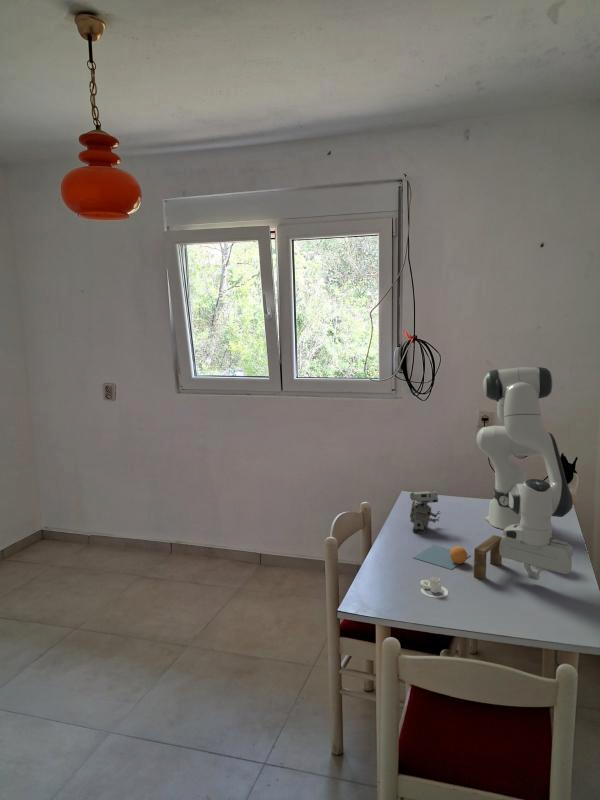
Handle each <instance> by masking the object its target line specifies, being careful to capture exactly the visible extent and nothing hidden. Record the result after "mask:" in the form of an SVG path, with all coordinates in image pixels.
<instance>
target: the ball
mask: <svg viewBox="0 0 600 800" xmlns="http://www.w3.org/2000/svg"><path fill="white" fill-rule="evenodd" d="M450 550H451V551H450V558H451V560H452V561H453V562H455V563H457V564H459V565H461V564H463V563H465V562H466V561H467V559H468V558H467V554H468V552H467V551H466V549H465V548H463V547H462V546H457V545H456V546H454V547H453V548H451V549H450Z"/></svg>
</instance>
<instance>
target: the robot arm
mask: <svg viewBox="0 0 600 800" xmlns="http://www.w3.org/2000/svg"><path fill="white" fill-rule="evenodd" d="M551 373H552V372H551V371H550V370H549V369H548V368H546V367H540V366H537V367H531V366H530V367H527V366H526V367H525V366H524V367H521V366H520V367H512V368H503V369H492V370H489V371H487V372H486V374H485V376H484V377H483V382H482V388H483V391H484V393H485V396H486V398H488V399H489V400H492V401H496V402H497V403H496V405H497V409H496V410H497V411H496V413H497V415H496V416H497V418H498V419H499V421H500V422H501V424H503V425H490V426H488V425H487V426H483V427H482V428H480V429H479V430H478V432H477V435H476V444H477V447H478V448H479V450H480V451H481V452H482V453H484V454H485V455H486V456H487V458H489V460H490V461H491V463H492V465H493V469H494V479H495V480H494V481H495V482H494V483H495V485H494V488H493V499H491V500H490V502H489V509H488V510H489V511H488V515H486V516H485V519H486V520H485V519H484V520H485V521H487V522H489V524H490V525H491V526H493V527H494V528H496V529H499V530H503V531H502V535H503V536H501V537H502V539H501V541H500V547H499V554H500V555H501V557H502V559H503V558H505V559H508V560H512V561H515V562H518V563H523V565H524V570H526V572H527V578H528V579H532V580H535V581H539V580H540V578H541V577H540V576H541V575H540V574H541V573H542V572H543V571H544V570H546V569H548V570H547V571H550V570H552V571H553V572H556V573H559V574H563V575H566V574H568V573H570V572H571V570H572V568H573V567H572V566H573V565H572V564H573V562H572V556H573V551H574V549H573V546H572V545H571V544H570V543H568V541H565V540H559V539H556V538H553V537H552V535H553V524H552V517H555V518H556V517H557V518H562V517H564V516H566V515H567V514H568V513H569V512H570V511H571V510H572V508H573V504H574V503H573V502H574V501H573V497H572V493H571V489H570V487H569V485H568V483H567V479H566V475H565V470H564V466H563V464H562V460H561V455H560V452H559V447H558V444H557V442H556V439H555V437H554V435H553V434H552V433H551V432H548V430H547V429H546V428H545V425H544V423H543V421H542V413H541V411H542V410H541V404H540V399H543V398H548V397H549V396H550V394H552V390H553V387H554V378H553V375H552V374H551ZM510 456H524V457H534V456H542V458H543V460H544V464H545V465H544V466H545V468H546V473H547V477H548V480H549V482H547V481H545V480H543V479H541V478H540V479H539V478H529V479H528V478H527V472H526V470H525V468H524V467H523V466H521V465H520V464H518V463H516V462H514V461H512V459H511V458H510ZM531 566H534V567H536V570H537V571H533V570H532V567H531Z"/></svg>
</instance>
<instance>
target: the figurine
mask: <svg viewBox="0 0 600 800" xmlns="http://www.w3.org/2000/svg"><path fill="white" fill-rule="evenodd" d="M409 496H410V497H409V498H410V500H411V501H412V503H411V504H412V505H411V508H410V509H411V510H410V514H409V515H410V516H409V518H410V519H409V520H410V522H411V523H412V524H413V528H412V532H413V533H417V532H418V533H420V534H424V533H425V527H428V526H429V522H432V523H434V524H435V523H436V522H440V520H439V519H440V517H438V518H437V516H438V515H440V513H441V511H440V510H438V511H437V513H433V512H432V506H431V505H428V504H431V503H438V502H439V498H438V496H439V495H438V494H437V491H436V490H427V491H426V490H425V491H414V492H411V493H410V494H409ZM431 516H432V517H433V518H432V517H431Z"/></svg>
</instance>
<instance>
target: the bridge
mask: <svg viewBox="0 0 600 800" xmlns="http://www.w3.org/2000/svg"><path fill="white" fill-rule="evenodd" d="M502 537H503V536H499V535H495V534H493V535H491V536H490V537H488V538H487V539H486V540H484V541H483V542H481V543H480V544H479V545H478V546H476V547H474V555H473V557H474V558H473V578H476V579H479V580H483V581H484V580H485V579H486V578H487V553H488V552H489V553H490V554H489V555H490V557H489V558H490V559H489V564H491V565H494V566H497V567H499V566H501V565H502V564H503V563H502V562H503V561H502V559H503V557H501V555H500V554H499V547H500V541H501V539H502Z"/></svg>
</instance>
